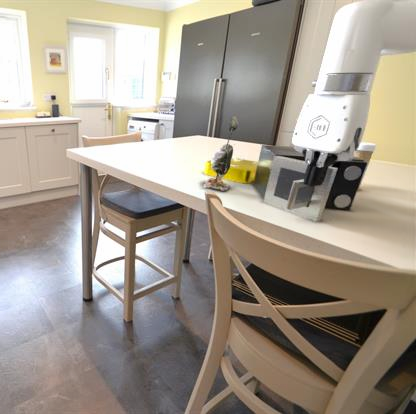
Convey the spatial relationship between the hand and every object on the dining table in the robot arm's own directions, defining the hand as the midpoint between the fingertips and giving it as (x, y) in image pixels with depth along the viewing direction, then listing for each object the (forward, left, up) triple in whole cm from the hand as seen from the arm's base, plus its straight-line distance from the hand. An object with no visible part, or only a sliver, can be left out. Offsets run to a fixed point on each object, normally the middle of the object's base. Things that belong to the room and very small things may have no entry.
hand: (312, 184), depth 57 cm
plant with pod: (+15, -21, -9) cm, 28 cm away
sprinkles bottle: (-23, -31, -9) cm, 40 cm away
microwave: (-5, -18, -9) cm, 21 cm away
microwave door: (+2, -5, -8) cm, 10 cm away
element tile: (+8, -36, -9) cm, 38 cm away
